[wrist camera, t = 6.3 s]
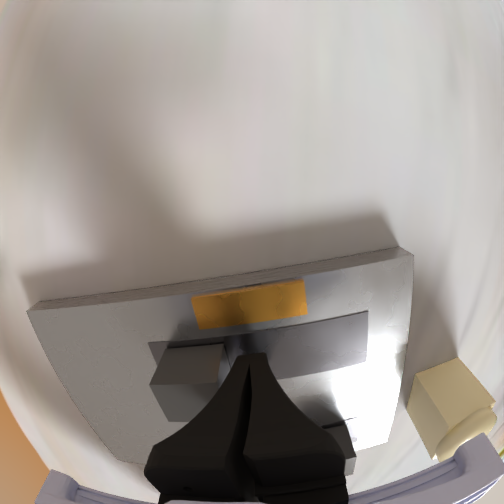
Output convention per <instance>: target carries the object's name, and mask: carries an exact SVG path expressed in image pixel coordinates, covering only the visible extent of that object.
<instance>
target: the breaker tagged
mask: <svg viewBox="0 0 504 504" xmlns="http://www.w3.org/2000/svg"><path fill="white" fill-rule="evenodd" d="M229 371H230V366H229V362H228V359H227V355H226V352H225V348H224V344H216V345H206V346H195V347H183V348H170V349H165V351H164V353H163V355H162V357H161V359H160V362H159V364H158V366H157V368H156V370H155V373H154V375H153V377H152V379H151V382H150V384H149V386H150V388H151V390H152V392H153V394H154V396H155V398H156V400H157V402H158V403H159V405H160V407H161V409H162V411H163V413H164V415H165V416H166V418H167V420H168V422H190V421H191V420H192V419H193V418H194V417H195V416H196V415H197V414H198V413H199V412H200V411H201V410H202V409H203V408H204V407H205V406H206V405H207V404H208V402H209V401H210V400H211V399H212V397H213V396H214V395H215V393H216V392H217V390H218V389H219V388H220V386H221V385H222V383H223V381H224V380H225V378H226V376H227V375H228V373H229Z"/></svg>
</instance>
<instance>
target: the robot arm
mask: <svg viewBox="0 0 504 504" xmlns="http://www.w3.org/2000/svg"><path fill="white" fill-rule="evenodd" d="M345 465H346V458H345V455H344V453H343V451H342V449H341V447H340V445H339V444H338V442H337V441H336V439H335V438H334V437H333V435H332V434H331V433H329V432H328V431H326V430H325V429H323V428H322V427H320V426H319V425H317V424H316V423H315V422H313V421H312V420H311V419H310V418H309V417H307V416H306V415H305V414H304V413H303V412H302V411H301V410H300V409H299V408H298V407H297V406H296V405H295V404H294V403H293V402H292V401H291V399H290V398H289V397H288V396H287V394H286V393H285V392H284V390H283V389H282V387H281V386H280V384H279V383H278V381H277V380H276V378H275V376H274V374H273V372H272V370H271V368H270V366H269V363H268V358H267V354H266V353H265V352H261V353H254V354H246V355H238V356H237V357H236V359H235V361H234V364H233V366H232V367H231V369H230V371H229V373H228V375H227V376H226V378H225V380H224V381H223V383H222V385H221V386H220V388H219V389H218V390H217V392H216V393H215V395H214V396H213V397H212V399H211V400H210V401H209V402H208V404H207V405H206V406H205V407H204V408H203V409H202V410H201V411H200V412H199V413H198V414H197V415H196V416H195V417H194V418H193V419H192V420H191V421H190V422H189V423H187V424H186V425H185V426H184V427H182V428H181V429H180V430H178V431H177V432H175V433H174V434H172V435H171V436H169V437H168V438H166V439H164V440H162V441H161V442H159V443H157V444H155V445H153V448H152V450H151V452H150V454H149V457H148V460H147V463H146V466H145V469H144V475H145V477H146V478H147V479H148V481H149V482H150V483H151V484H152V485H153V486H154V487H155V488H156V489H157V490H158V491H159V492H160V493H161V494H160V498H159V502H158V504H471V503H473V502H475V501H476V500H478V499H479V498H481V497H482V496H483V495H484V494H485V493H486V492H487V491H489V490H490V489H491V488H492V486H494V485H495V484H496V483H497V482H498V481H499V480H500V478H501V477H502V476H503V475H504V463H503V461H502V459H501V458H500V456H499V455H498V453H497V451H496V450H495V448H494V447H493V445H492V444H491V442H490V441H489V439H488V438H487V436H486V435H485V433H484V432H482V433H480V434H479V435H477V436H475V437H474V438H472V439H470V440H468V441H467V442H465V443H463V444H462V445H461V446H459V447H458V448H457V450H456V451H455V453H454V455H453V456H452V457H450V458H448V459H446V460H444V461H442V462H440V463H438V464H436V465H434V466H432V467H429V468H427V469H425V470H422V471H420V472H418V473H415V474H413V475H410V476H408V477H405V478H403V479H400V480H397V481H394V482H391V483H389V484H386V485H383V486H379V487H376V488H373V489H370V490H366V491H363V492H359V493H355V494H351V495H348V492H347V488H346V478H345V474H344V472H345ZM35 504H155V503H149V502H143V501H138V500H133V499H128V498H124V497H120V496H116V495H112V494H108V493H104V492H100V491H97V490H94V489H90V488H87V487H84V486H81V485H79V484H78V483H77V482H76V481H75V480H74V479H73V478H71V477H70V476H68V475H66V474H63V473H61V472H58V471H55V470H51V471H50V473H49V474H48V476H47V478H46V480H45V482H44V484H43V486H42V488H41V490H40V492H39V494H38V496H37V498H36V500H35Z"/></svg>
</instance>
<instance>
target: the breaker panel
mask: <svg viewBox="0 0 504 504" xmlns="http://www.w3.org/2000/svg"><path fill="white" fill-rule="evenodd" d="M413 261H414V255H413V254H411V253H409V252H408V251H406V250H404V249H403V248H401V247H395V248H390V249H385V250H379V251H374V252H368V253H363V254H357V255H352V256H346V257H340V258H335V259H329V260H323V261H318V262H312V263H306V264H300V265H294V266H288V267H282V268H276V269H270V270H264V271H257V272H251V273H245V274H238V275H232V276H226V277H219V278H212V279H206V280H199V281H192V282H186V283H179V284H172V285H165V286H158V287H151V288H144V289H136V290H129V291H121V292H114V293H106V294H99V295H91V296H83V297H75V298H66V299H58V300H50V301H41V302H38V303H37V304H35V305H34V306H33V307H31V308H30V309H29V310H27V311H26V312H27V314H28V317H29V319H30V321H31V324H32V326H33V328H34V330H35V333H36V335H37V337H38V339H39V341H40V343H41V345H42V347H43V349H44V351H45V353H46V355H47V357H48V359H49V361H50V363H51V365H52V366H53V368H54V370H55V372H56V373H57V375H58V377H59V379H60V380H61V382H62V384H63V385H64V387H65V389H66V390H67V392H68V394H69V395H70V397H71V398H72V400H73V401H74V403H75V404H76V406H77V407H78V409H79V410H80V412H81V413H82V415H83V416H84V417H85V419H86V420H87V422H88V423H89V424H90V426H91V427H92V428H93V430H94V431H95V432H96V434H97V435H98V436H99V438H100V439H101V440H102V441H103V443H104V444H105V445H106V446H107V448H108V449H109V450H110V451H111V452H112V454H113V455H114V456H115V457H116V458H117V459H118V460H120V461H126V462H132V463H139V464H146V463H147V460H148V457H149V454H150V452H151V450H152V448H153V445H155V444H157V443H159V442H161V441H162V440H164V439H166V438H168V437H169V436H171V435H172V434H174V433H175V432H177V431H178V430H180V429H181V428H182V427H184V426H185V425H186V424H187V423H189V422H168V420H167V418H166V416H165V415H164V413H163V411H162V409H161V407H160V405H159V403H158V402H157V400H156V398H155V396H154V394H153V392H152V390H151V388H150V386H149V384H150V382H151V379H152V377H153V375H154V373H155V370H156V368H157V366H158V364H159V362H160V359H161V357H162V355H163V353H164V351H165V349H170V348H183V347H195V346H206V345H216V344H224V348H225V352H226V355H227V359H228V362H229V366H230V369H231V367H232V366H233V364H234V361H235V359H236V357H237V356H238V355H246V354H254V353H261V352H265V353H266V354H267V358H268V363H269V366H270V368H271V370H272V372H273V374H274V376H275V378H276V380H277V381H278V383H279V384H280V386H281V387H282V389H283V390H284V392H285V393H286V394H287V396H288V397H289V398H290V399H291V401H292V402H293V403H294V404H295V405H296V406H297V407H298V408H299V409H300V410H301V411H302V412H303V413H304V414H305V415H306V416H307V417H309V418H310V419H311V420H312V421H313V422H315V423H316V424H317V425H319V426H320V427H322V428H323V429H328V428H332V427H337V426H341V425H346V424H347V427H348V431H349V434H350V437H351V440H352V444H353V447H354V450H355V451H357V450H360V449H364V448H368V447H371V446H374V445H378V444H381V443H384V442H387V438H388V435H389V431H390V428H391V424H392V420H393V416H394V412H395V408H396V404H397V399H398V395H399V390H400V385H401V380H402V375H403V369H404V363H405V357H406V350H407V343H408V335H409V326H410V316H411V304H412V289H413Z"/></svg>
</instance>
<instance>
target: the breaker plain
mask: <svg viewBox="0 0 504 504" xmlns="http://www.w3.org/2000/svg"><path fill="white" fill-rule="evenodd" d="M325 430H326V431H328V432H329V433H331V434H332V435H333V437H334V438H335V439H336V441H337V442H338V444H339V445H340V447H341V449H342V451H343V453H344V455H345V458H346V465H345V472H344V474H345V476H348V475H352V474H353V472H354V467H355V462H356V453H355V450H354V447H353V444H352V440H351V437H350V434H349V431H348V427H347V424H346V425H341V426H337V427H332V428H328V429H325Z"/></svg>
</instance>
